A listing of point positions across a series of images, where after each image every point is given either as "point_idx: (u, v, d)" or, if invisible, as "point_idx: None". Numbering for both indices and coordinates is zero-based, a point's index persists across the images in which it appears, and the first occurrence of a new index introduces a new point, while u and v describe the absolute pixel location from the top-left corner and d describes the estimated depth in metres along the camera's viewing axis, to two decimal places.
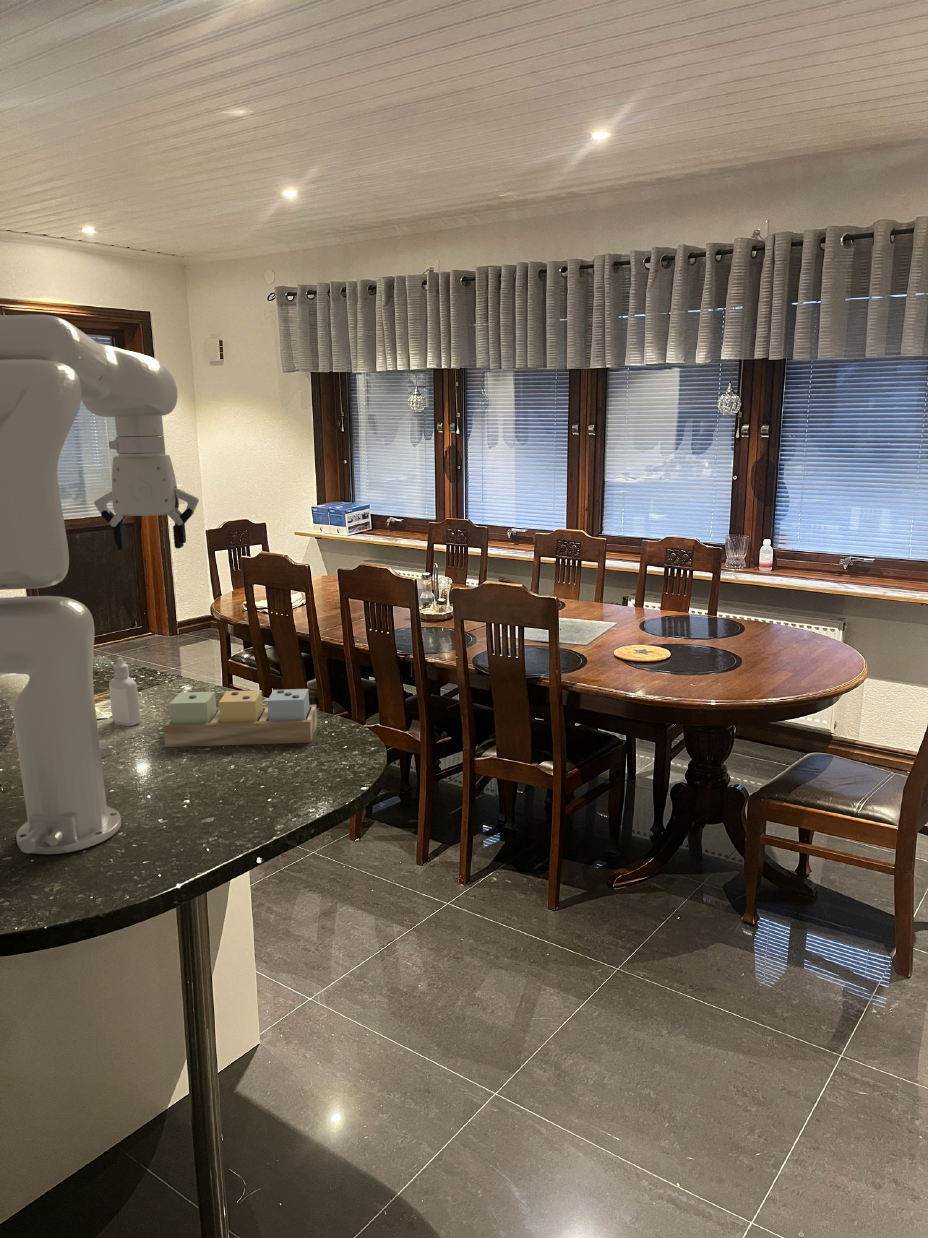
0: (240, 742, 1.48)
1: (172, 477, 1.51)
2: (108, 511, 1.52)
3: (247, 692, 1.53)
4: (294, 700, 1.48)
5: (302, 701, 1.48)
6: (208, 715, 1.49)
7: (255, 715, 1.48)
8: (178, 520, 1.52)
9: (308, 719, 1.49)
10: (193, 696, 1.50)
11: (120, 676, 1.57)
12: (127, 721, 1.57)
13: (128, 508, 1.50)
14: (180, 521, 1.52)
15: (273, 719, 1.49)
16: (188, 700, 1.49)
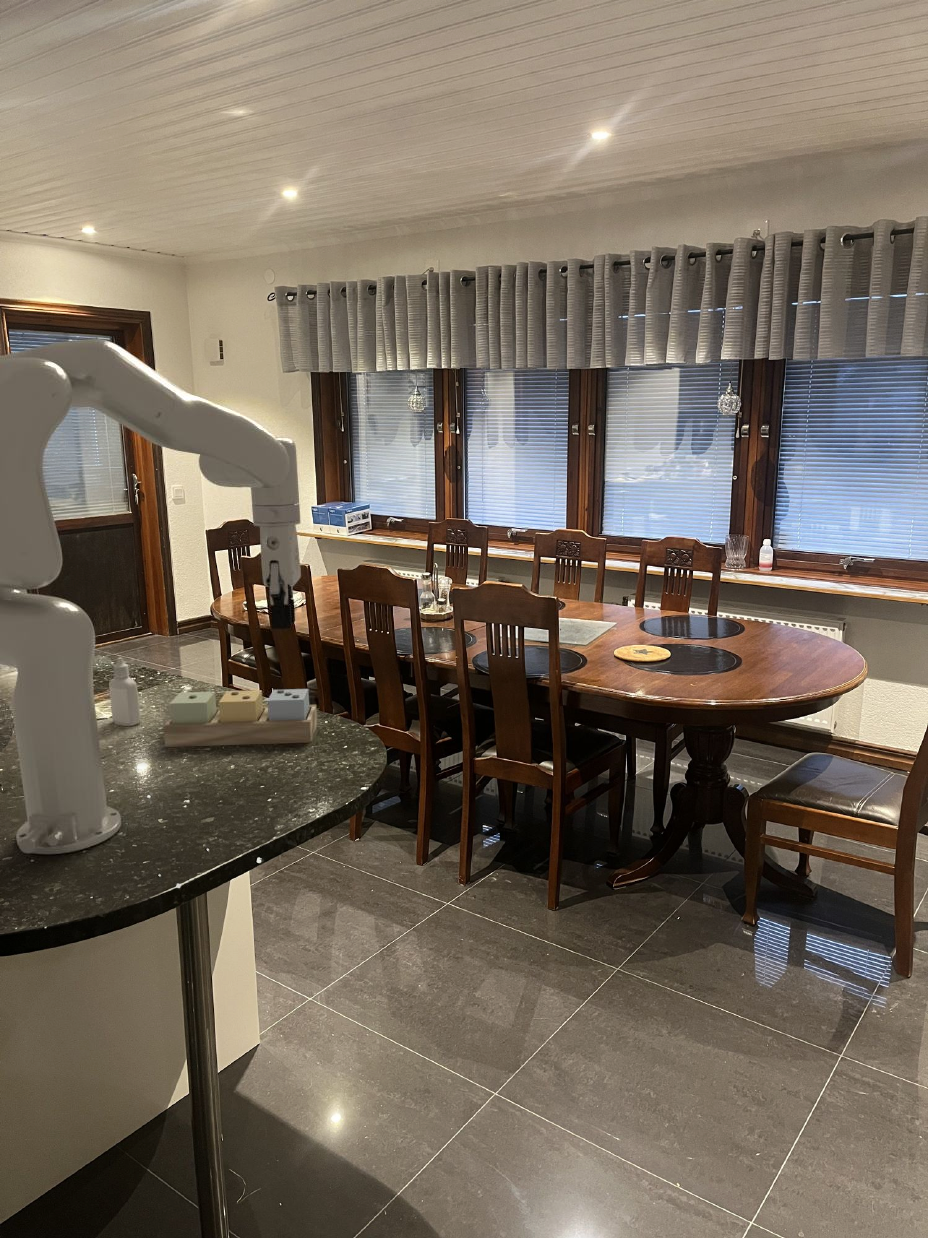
0: (240, 742, 1.48)
1: None
2: None
3: (247, 692, 1.53)
4: (294, 700, 1.48)
5: (302, 701, 1.48)
6: (208, 715, 1.49)
7: (255, 715, 1.48)
8: (291, 593, 1.50)
9: (308, 719, 1.49)
10: (193, 696, 1.50)
11: (120, 676, 1.57)
12: (127, 721, 1.57)
13: (295, 577, 1.44)
14: (291, 595, 1.50)
15: (273, 719, 1.49)
16: (188, 700, 1.49)
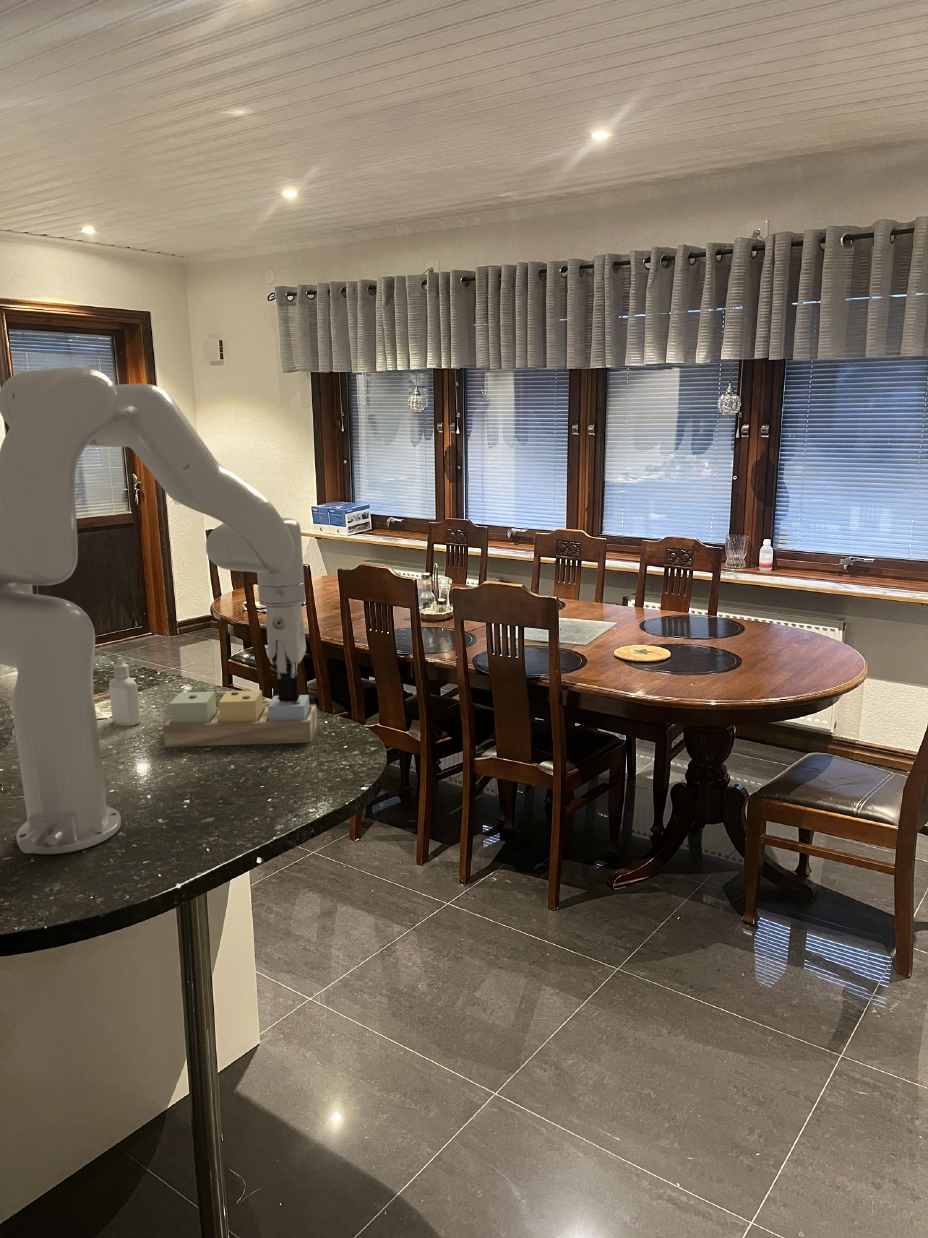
0: (240, 742, 1.48)
1: None
2: None
3: (247, 692, 1.53)
4: (294, 706, 1.48)
5: (302, 707, 1.48)
6: (208, 715, 1.49)
7: (255, 715, 1.48)
8: (295, 669, 1.51)
9: (308, 719, 1.49)
10: (193, 696, 1.50)
11: (120, 676, 1.57)
12: (127, 721, 1.57)
13: (300, 654, 1.47)
14: (296, 671, 1.52)
15: None
16: (188, 700, 1.49)
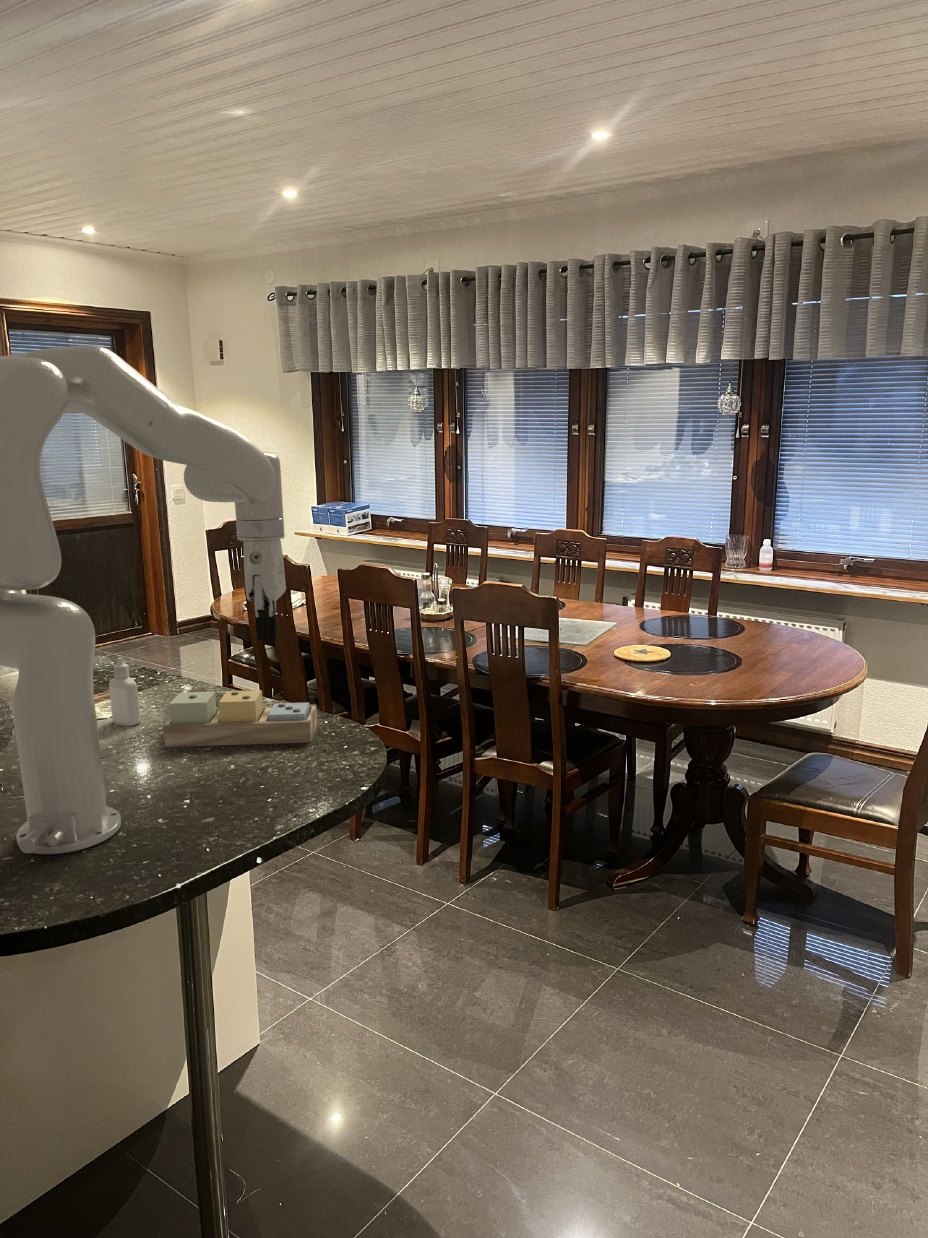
0: (240, 742, 1.48)
1: None
2: None
3: (247, 692, 1.53)
4: (295, 714, 1.49)
5: (303, 715, 1.49)
6: (208, 715, 1.49)
7: (255, 715, 1.48)
8: (274, 609, 1.49)
9: (308, 719, 1.49)
10: (193, 696, 1.50)
11: (120, 676, 1.57)
12: (127, 721, 1.57)
13: (278, 592, 1.45)
14: (274, 611, 1.49)
15: None
16: (188, 700, 1.49)
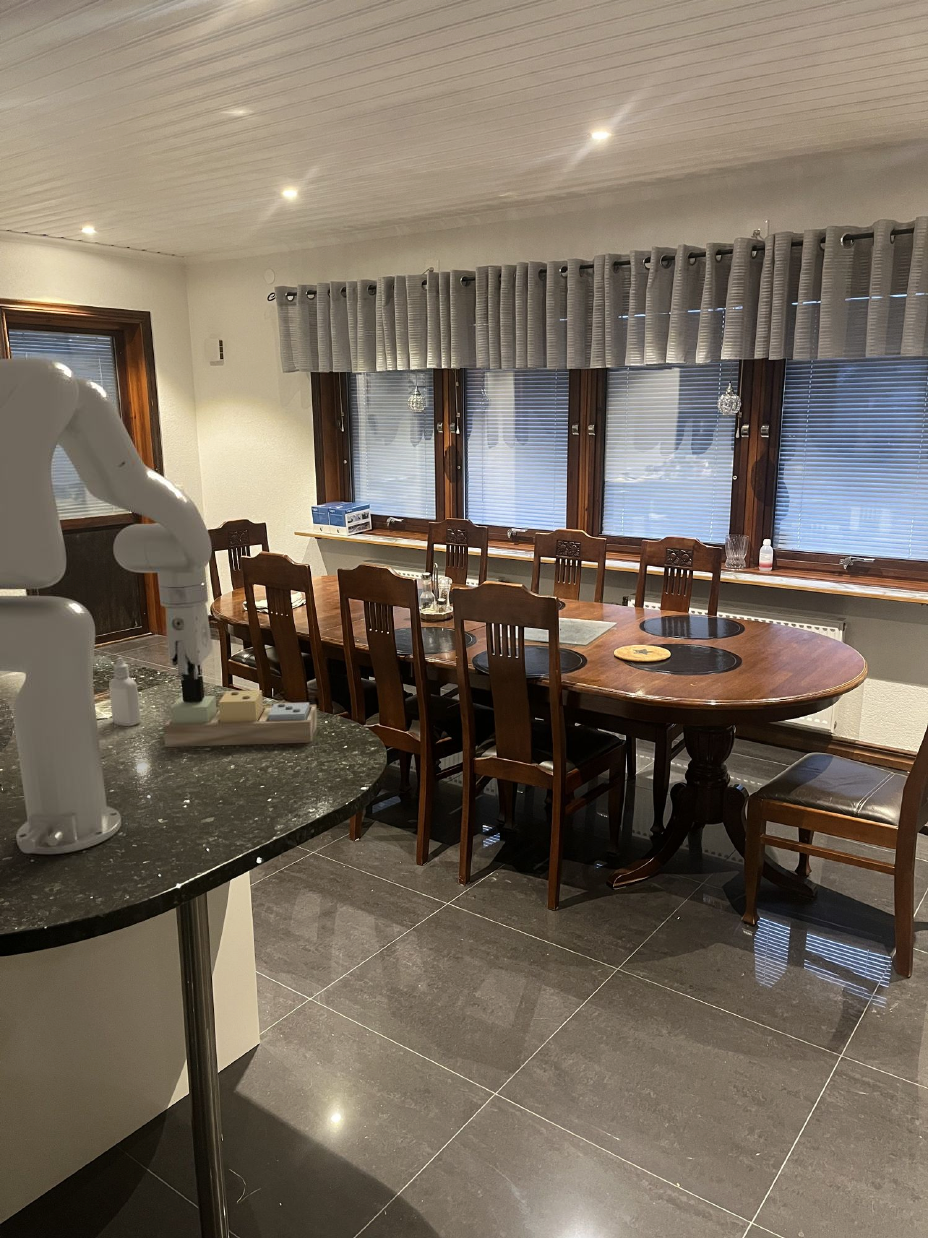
0: (240, 742, 1.48)
1: None
2: (187, 667, 1.47)
3: (247, 692, 1.53)
4: (295, 714, 1.49)
5: (303, 715, 1.49)
6: (208, 719, 1.49)
7: (255, 715, 1.48)
8: None
9: (308, 719, 1.49)
10: None
11: (120, 676, 1.57)
12: (127, 721, 1.57)
13: (202, 655, 1.47)
14: (200, 672, 1.51)
15: None
16: (188, 705, 1.49)
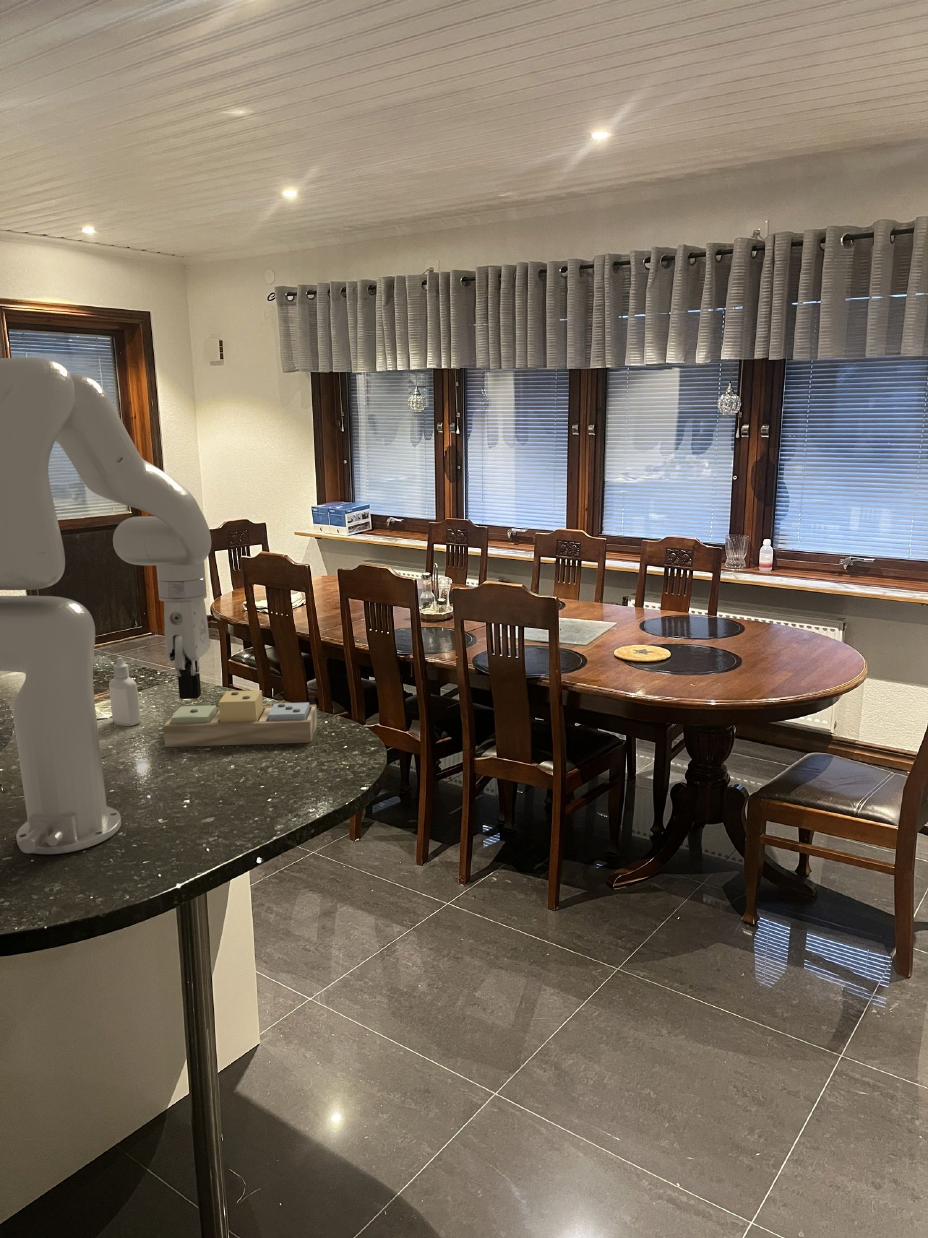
0: (240, 742, 1.48)
1: None
2: None
3: (247, 692, 1.53)
4: (295, 714, 1.49)
5: (303, 715, 1.49)
6: None
7: (255, 715, 1.48)
8: (197, 667, 1.50)
9: (308, 719, 1.49)
10: (194, 710, 1.51)
11: (120, 676, 1.57)
12: (127, 721, 1.57)
13: (200, 651, 1.46)
14: (197, 669, 1.50)
15: None
16: (189, 714, 1.49)
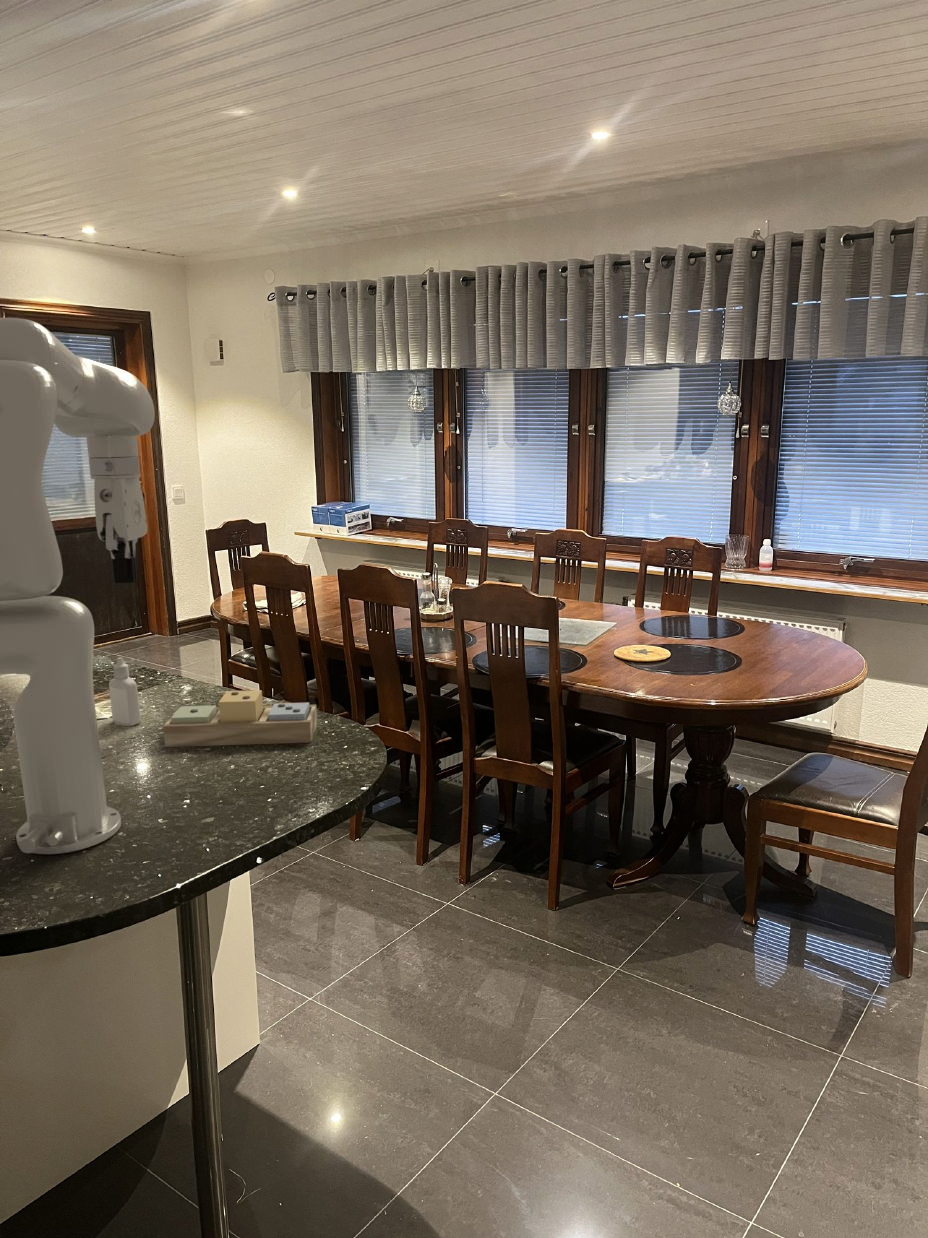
0: (240, 742, 1.48)
1: None
2: None
3: (247, 692, 1.53)
4: (295, 714, 1.49)
5: (303, 715, 1.49)
6: None
7: (255, 715, 1.48)
8: (133, 551, 1.47)
9: (308, 719, 1.49)
10: (194, 710, 1.51)
11: (120, 676, 1.57)
12: (127, 721, 1.57)
13: (133, 532, 1.42)
14: (133, 553, 1.47)
15: None
16: (189, 714, 1.49)
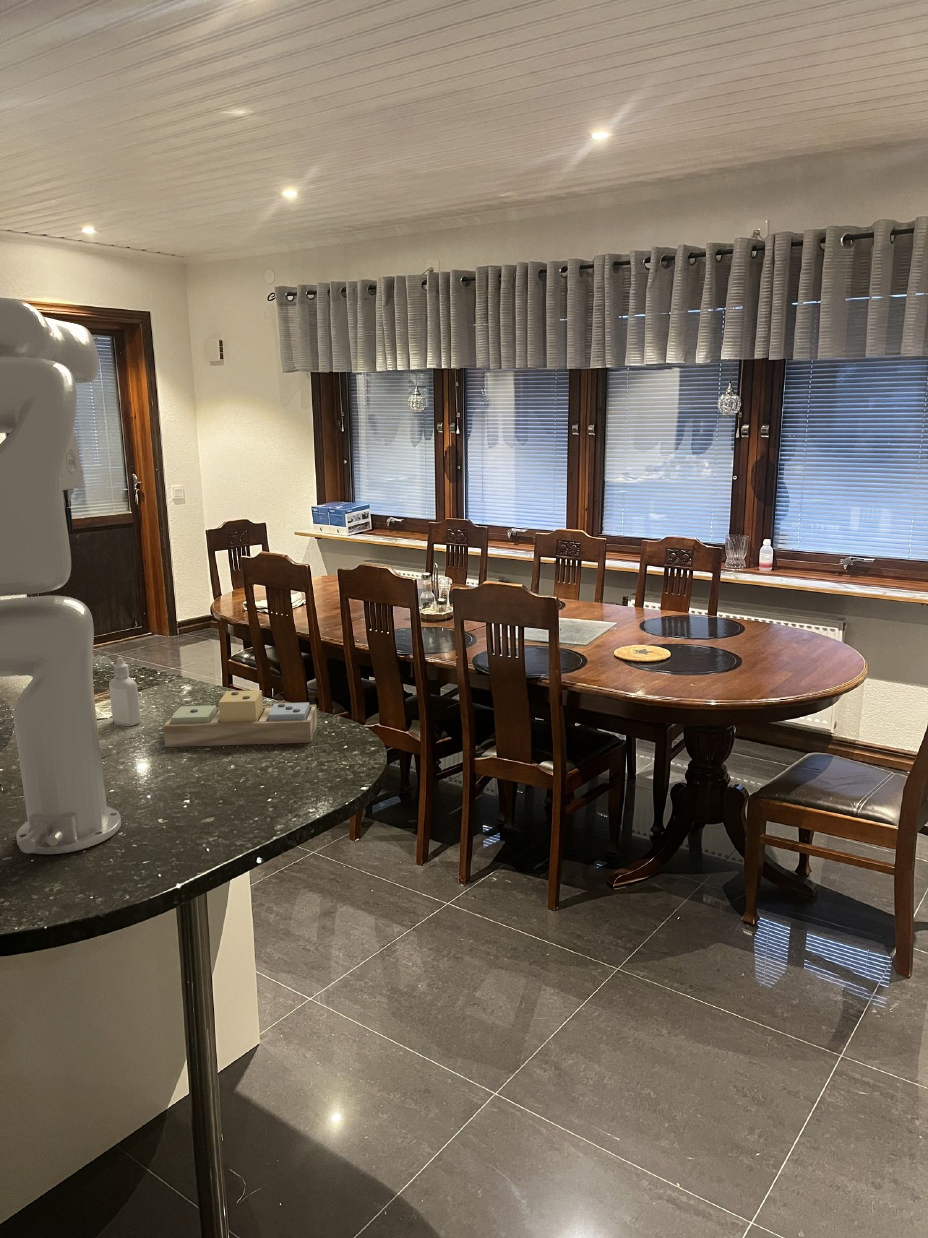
0: (240, 742, 1.48)
1: None
2: None
3: (247, 692, 1.53)
4: (295, 714, 1.49)
5: (303, 715, 1.49)
6: None
7: (255, 715, 1.48)
8: (68, 502, 1.46)
9: (308, 719, 1.49)
10: (194, 710, 1.51)
11: (120, 676, 1.57)
12: (127, 721, 1.57)
13: (67, 481, 1.42)
14: (69, 504, 1.46)
15: None
16: (189, 714, 1.49)
